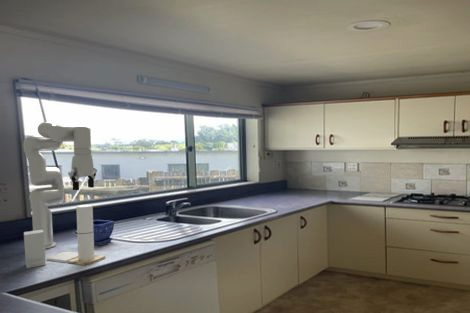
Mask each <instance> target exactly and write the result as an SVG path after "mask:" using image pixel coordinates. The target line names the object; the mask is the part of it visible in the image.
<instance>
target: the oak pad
mask: <svg viewBox="0 0 470 313" xmlns="http://www.w3.org/2000/svg"><path fill="white" fill-rule="evenodd" d="M104 258H105V259H106V255H99V254H94V258H93V259H91V260H84V261H82V260H79V259H78V257H76V258H73V259H71V260H68V261H67V262H66V263H68V264H74V265H82V266H87V265H88V266H90V265H92V264H95V263H97V262H99V260H100V261H102V260H104ZM94 262H95V263H94ZM89 264H90V265H89Z"/></svg>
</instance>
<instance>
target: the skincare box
mask: <svg viewBox="0 0 470 313" xmlns="http://www.w3.org/2000/svg"><path fill="white" fill-rule="evenodd" d="M23 242H24V243H23V244H24V256H25V257H24V259H25V266H26V267H25V268H26V269H31V268H35V267H41V266H46V265H47V264H46V252H45V251H46V249H45V246H44V232H43V230H36V231H33V230H30V231H24V232H23Z"/></svg>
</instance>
